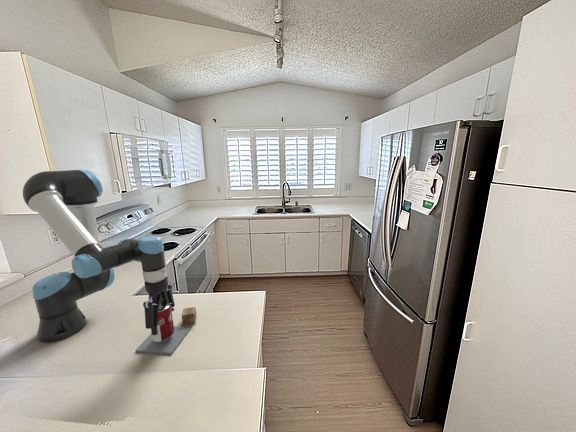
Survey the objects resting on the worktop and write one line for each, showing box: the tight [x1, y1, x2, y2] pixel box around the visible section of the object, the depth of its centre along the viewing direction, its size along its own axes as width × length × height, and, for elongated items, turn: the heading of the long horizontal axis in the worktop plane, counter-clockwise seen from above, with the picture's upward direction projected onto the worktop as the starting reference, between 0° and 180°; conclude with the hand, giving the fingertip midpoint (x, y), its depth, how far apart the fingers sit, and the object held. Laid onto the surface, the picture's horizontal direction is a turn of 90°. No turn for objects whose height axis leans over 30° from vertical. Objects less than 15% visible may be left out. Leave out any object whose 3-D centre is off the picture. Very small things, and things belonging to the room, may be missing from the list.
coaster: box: [134, 326, 192, 356], centre depth 97 cm, size 14×14×1 cm
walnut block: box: [181, 306, 197, 327], centre depth 108 cm, size 5×5×5 cm
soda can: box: [154, 303, 174, 340], centre depth 96 cm, size 7×7×12 cm
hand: (163, 333), depth 97 cm, fingers closed on soda can, 7 cm apart
